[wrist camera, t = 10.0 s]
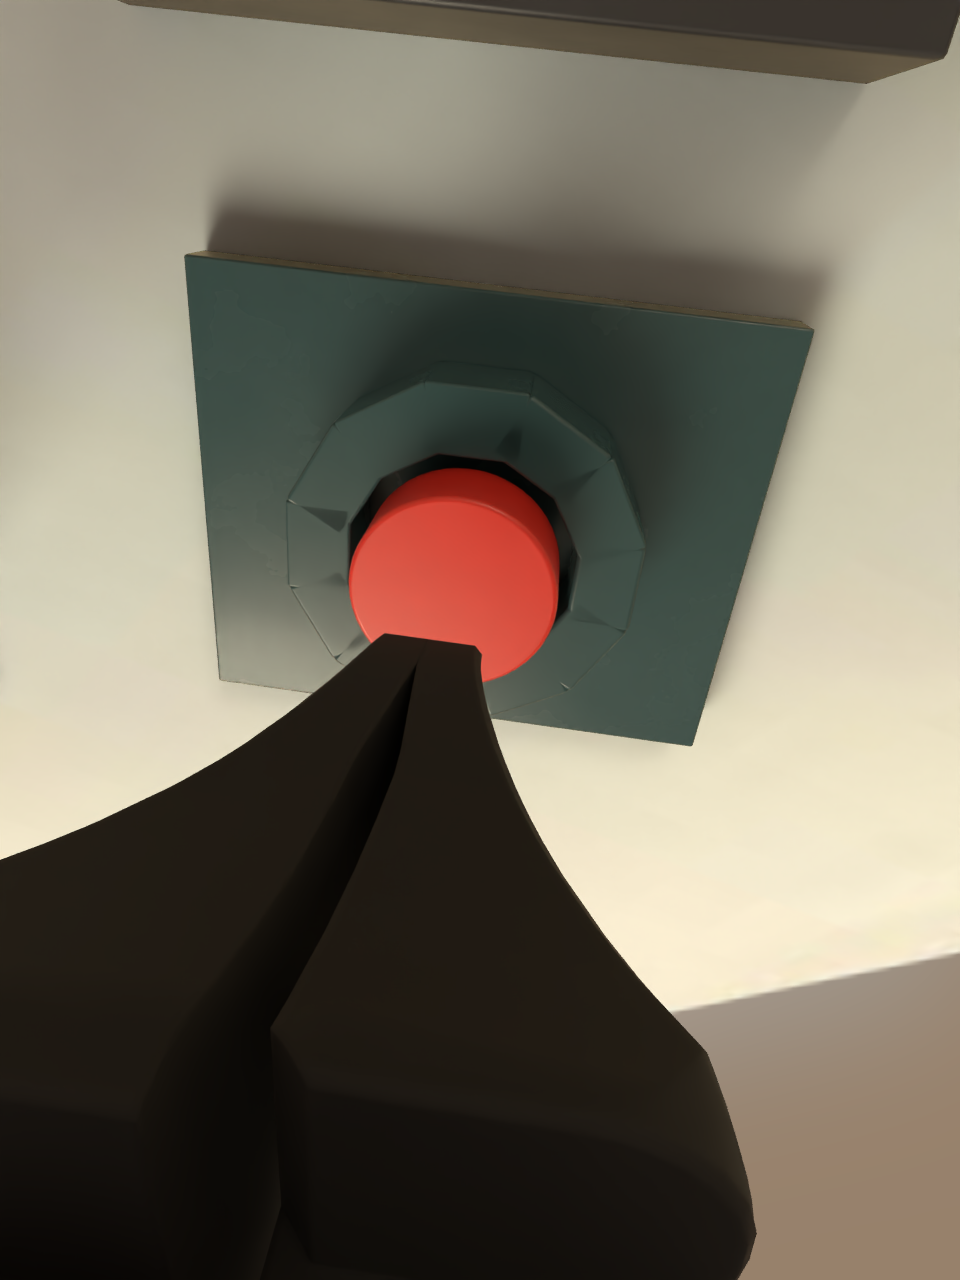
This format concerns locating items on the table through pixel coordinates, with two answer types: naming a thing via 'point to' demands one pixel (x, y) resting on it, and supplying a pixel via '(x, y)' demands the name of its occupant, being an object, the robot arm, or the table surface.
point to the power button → (459, 567)
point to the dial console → (654, 28)
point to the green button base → (486, 467)
